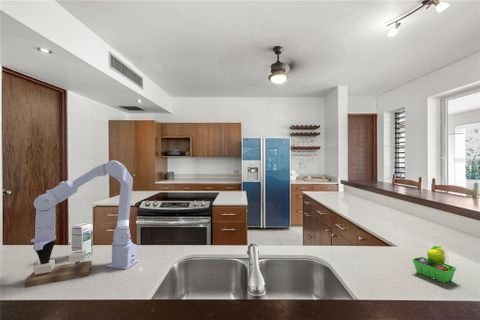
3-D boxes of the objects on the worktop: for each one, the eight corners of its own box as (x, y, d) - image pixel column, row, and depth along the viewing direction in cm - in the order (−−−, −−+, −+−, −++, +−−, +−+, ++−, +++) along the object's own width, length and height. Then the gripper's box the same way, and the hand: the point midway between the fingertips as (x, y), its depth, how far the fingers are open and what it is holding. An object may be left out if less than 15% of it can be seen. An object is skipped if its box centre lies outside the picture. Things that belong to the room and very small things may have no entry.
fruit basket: (411, 271, 89) (410, 243, 90) (424, 267, 93) (423, 240, 93) (446, 286, 79) (446, 254, 79) (459, 281, 82) (459, 250, 83)
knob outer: (54, 266, 85) (54, 259, 86) (50, 271, 81) (50, 264, 81) (39, 269, 83) (39, 261, 83) (34, 274, 79) (34, 266, 79)
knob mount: (91, 265, 93) (91, 255, 93) (87, 275, 84) (87, 265, 84) (35, 274, 85) (35, 263, 85) (24, 287, 76) (24, 275, 76)
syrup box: (81, 259, 98) (82, 226, 98) (70, 258, 99) (71, 225, 100) (92, 254, 104) (93, 223, 104) (82, 253, 105) (82, 222, 105)
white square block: (85, 256, 90) (85, 249, 90) (83, 260, 86) (83, 253, 86) (71, 258, 88) (71, 251, 88) (68, 262, 84) (69, 255, 84)
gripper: (38, 222, 87) (37, 257, 87) (23, 233, 74) (22, 274, 74) (61, 220, 90) (60, 254, 90) (49, 230, 78) (49, 269, 77)
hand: (44, 263), depth 82 cm, fingers closed, pressing on knob outer
